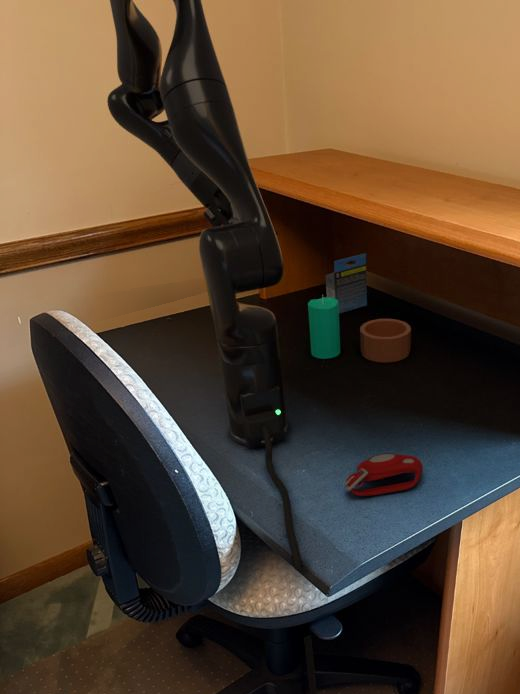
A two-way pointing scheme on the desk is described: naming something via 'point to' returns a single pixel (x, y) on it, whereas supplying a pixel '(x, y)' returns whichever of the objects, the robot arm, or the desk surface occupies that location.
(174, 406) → the desk surface
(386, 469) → the tracker holder
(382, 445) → the desk surface
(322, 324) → the candle
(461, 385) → the desk surface
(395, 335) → the holder
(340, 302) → the tape cartridge
